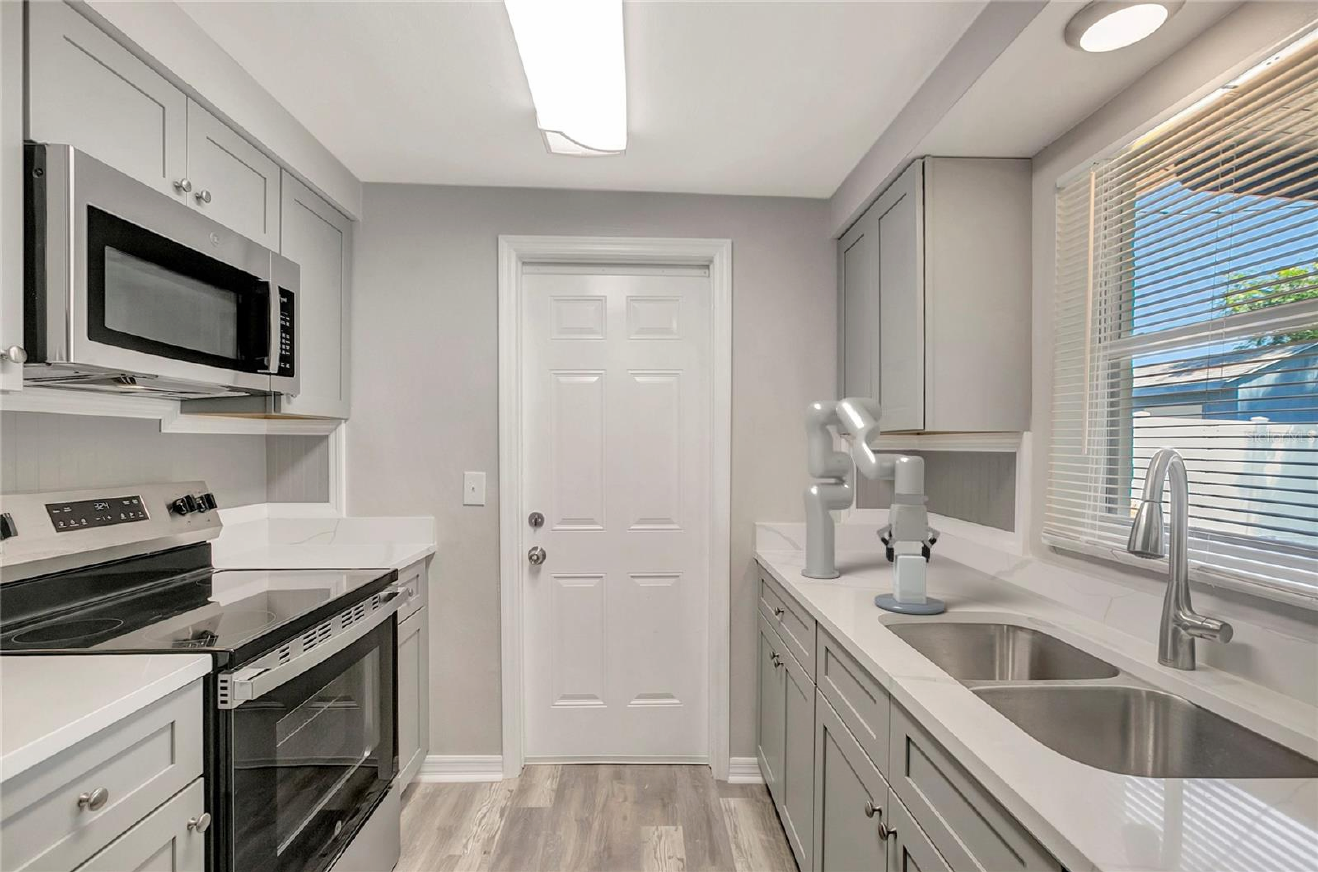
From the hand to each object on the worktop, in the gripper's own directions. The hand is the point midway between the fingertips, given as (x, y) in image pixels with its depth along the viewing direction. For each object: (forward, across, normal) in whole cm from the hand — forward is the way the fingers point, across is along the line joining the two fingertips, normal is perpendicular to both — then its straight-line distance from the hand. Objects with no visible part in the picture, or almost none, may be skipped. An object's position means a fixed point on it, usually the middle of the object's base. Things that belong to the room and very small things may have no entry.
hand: (907, 561), depth 174 cm
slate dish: (+12, 0, +1) cm, 12 cm away
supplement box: (+11, 0, +1) cm, 11 cm away
